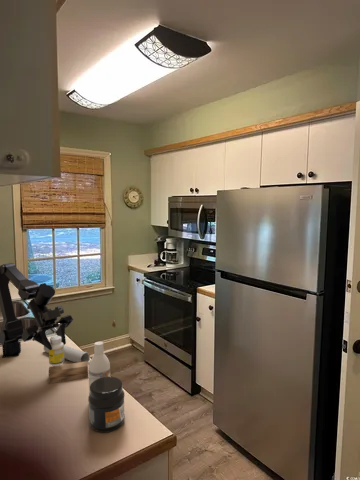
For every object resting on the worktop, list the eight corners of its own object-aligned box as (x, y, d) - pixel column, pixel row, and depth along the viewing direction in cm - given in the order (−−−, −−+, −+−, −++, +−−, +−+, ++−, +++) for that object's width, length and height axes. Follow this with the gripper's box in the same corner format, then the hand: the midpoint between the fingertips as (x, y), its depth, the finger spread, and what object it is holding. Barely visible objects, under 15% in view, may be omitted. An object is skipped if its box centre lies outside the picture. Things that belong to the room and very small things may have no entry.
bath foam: (109, 406, 107) (107, 347, 105) (87, 407, 107) (85, 347, 105) (112, 394, 114) (111, 338, 112) (92, 395, 114) (90, 339, 112)
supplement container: (131, 425, 98) (130, 386, 97) (97, 439, 92) (95, 398, 91) (116, 407, 107) (115, 372, 106) (84, 419, 101) (82, 382, 100)
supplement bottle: (47, 361, 125) (46, 336, 124) (62, 358, 128) (61, 333, 127) (50, 367, 121) (49, 341, 120) (65, 363, 124) (65, 338, 123)
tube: (39, 345, 146) (78, 358, 133) (49, 337, 150) (87, 349, 137) (43, 354, 148) (82, 368, 135) (52, 346, 152) (91, 359, 139)
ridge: (48, 383, 121) (48, 372, 121) (49, 375, 127) (49, 365, 127) (88, 377, 126) (88, 367, 125) (87, 369, 131) (87, 360, 131)
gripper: (24, 306, 117) (43, 344, 112) (70, 295, 132) (88, 328, 126) (14, 323, 122) (31, 360, 117) (59, 310, 137) (76, 342, 132)
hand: (58, 346), depth 123 cm, fingers closed on supplement bottle, 5 cm apart
